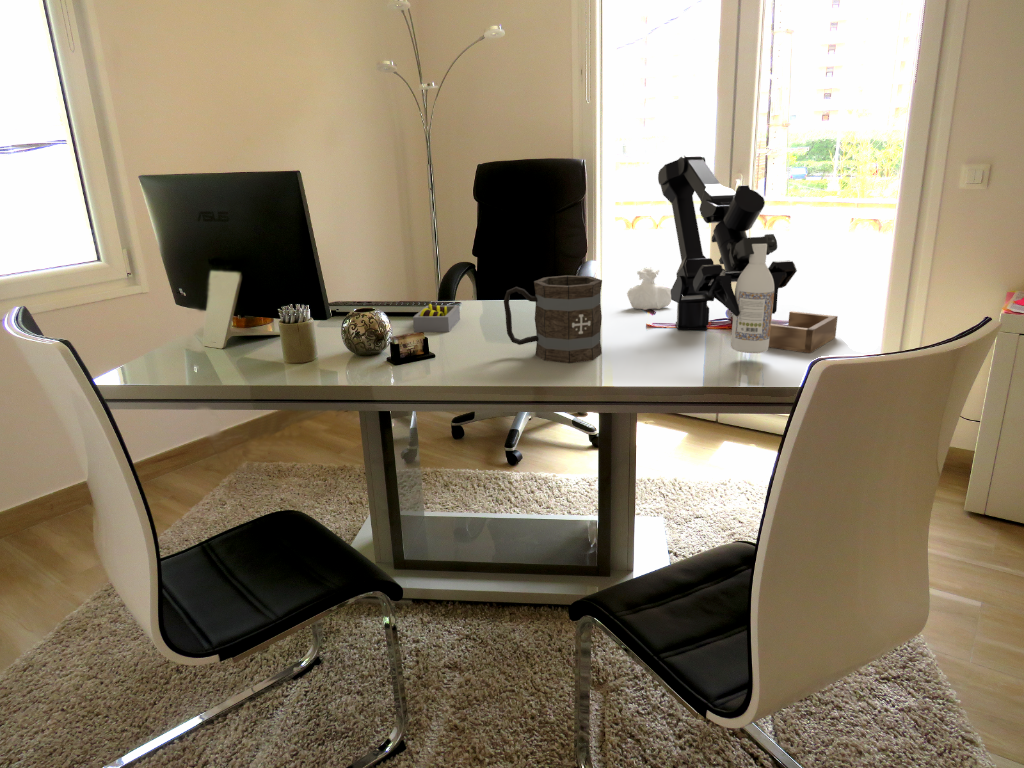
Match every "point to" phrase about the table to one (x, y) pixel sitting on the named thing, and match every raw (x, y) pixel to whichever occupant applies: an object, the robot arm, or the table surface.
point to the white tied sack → (649, 292)
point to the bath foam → (753, 305)
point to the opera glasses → (434, 311)
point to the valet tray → (437, 321)
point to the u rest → (803, 332)
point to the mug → (563, 318)
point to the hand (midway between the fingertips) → (756, 313)
